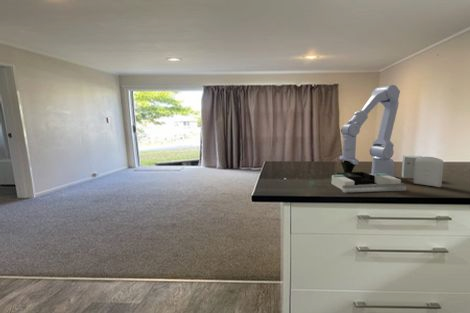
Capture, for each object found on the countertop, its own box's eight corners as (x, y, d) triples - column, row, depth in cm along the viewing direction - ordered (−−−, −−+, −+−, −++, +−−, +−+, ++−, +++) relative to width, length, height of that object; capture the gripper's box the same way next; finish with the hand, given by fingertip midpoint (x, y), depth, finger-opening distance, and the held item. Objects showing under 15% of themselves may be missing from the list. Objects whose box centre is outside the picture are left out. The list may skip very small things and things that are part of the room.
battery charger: (347, 185, 118) (348, 177, 118) (336, 180, 128) (336, 172, 127) (374, 184, 120) (375, 175, 120) (361, 179, 129) (362, 171, 129)
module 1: (340, 183, 121) (340, 174, 120) (354, 190, 109) (354, 180, 108) (331, 183, 120) (331, 174, 120) (344, 191, 109) (345, 180, 108)
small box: (419, 177, 132) (421, 155, 130) (422, 179, 127) (424, 157, 125) (401, 175, 135) (402, 155, 133) (403, 178, 130) (404, 156, 128)
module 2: (382, 182, 122) (382, 172, 122) (400, 189, 111) (401, 178, 110) (373, 182, 122) (374, 172, 121) (391, 189, 110) (391, 179, 110)
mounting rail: (402, 189, 111) (403, 183, 110) (406, 190, 109) (406, 184, 108) (342, 191, 109) (342, 185, 108) (344, 192, 107) (344, 186, 106)
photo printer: (411, 183, 120) (414, 156, 118) (414, 182, 122) (417, 155, 120) (439, 188, 112) (442, 158, 110) (442, 186, 114) (445, 157, 113)
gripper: (334, 147, 134) (332, 173, 136) (348, 150, 120) (347, 180, 122) (347, 147, 135) (346, 173, 137) (363, 150, 121) (361, 179, 123)
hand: (347, 176), depth 130 cm, fingers closed
